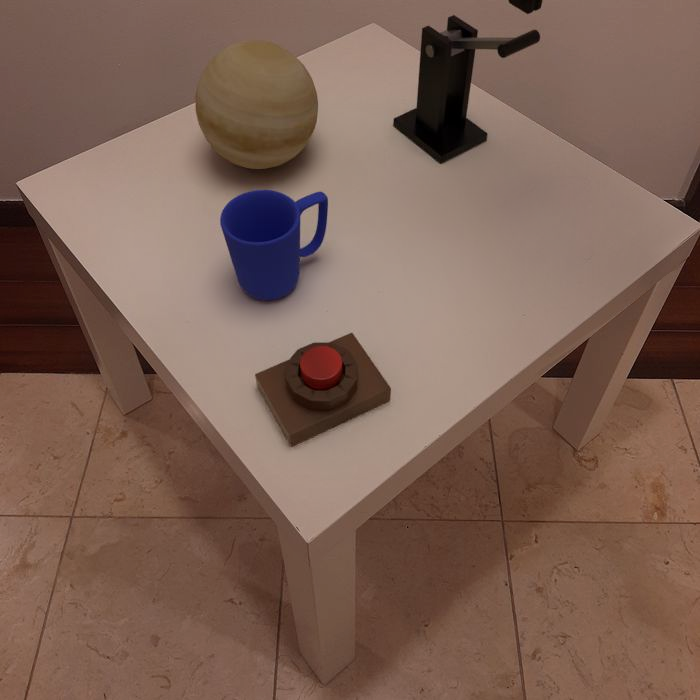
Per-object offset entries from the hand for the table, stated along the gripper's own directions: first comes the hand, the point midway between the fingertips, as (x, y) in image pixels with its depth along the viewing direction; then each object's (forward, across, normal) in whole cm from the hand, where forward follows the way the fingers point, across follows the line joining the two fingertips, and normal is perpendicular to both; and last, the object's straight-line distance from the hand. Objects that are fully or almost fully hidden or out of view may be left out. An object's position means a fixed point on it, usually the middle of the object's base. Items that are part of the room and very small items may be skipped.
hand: (524, 5), depth 77 cm
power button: (+18, -37, -15) cm, 44 cm away
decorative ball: (+22, -22, +21) cm, 37 cm away
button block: (+22, -36, -15) cm, 45 cm away
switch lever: (+8, 0, +5) cm, 9 cm away
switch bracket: (+22, 0, +10) cm, 25 cm away
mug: (+22, -31, +1) cm, 38 cm away
